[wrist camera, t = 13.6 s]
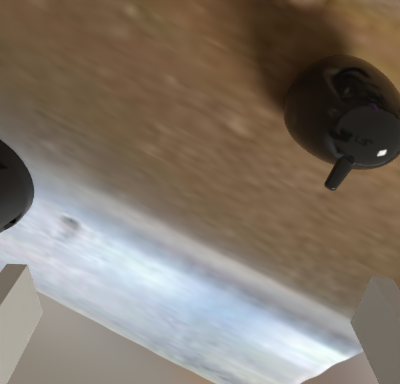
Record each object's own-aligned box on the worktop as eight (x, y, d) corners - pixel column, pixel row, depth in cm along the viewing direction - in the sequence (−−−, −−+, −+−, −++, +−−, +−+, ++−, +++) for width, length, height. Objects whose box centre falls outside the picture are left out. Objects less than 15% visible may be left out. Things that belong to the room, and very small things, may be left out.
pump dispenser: (257, 108, 37) (287, 165, 24) (321, 29, 33) (400, 46, 20) (317, 153, 40) (372, 224, 27) (383, 86, 36) (486, 133, 23)
